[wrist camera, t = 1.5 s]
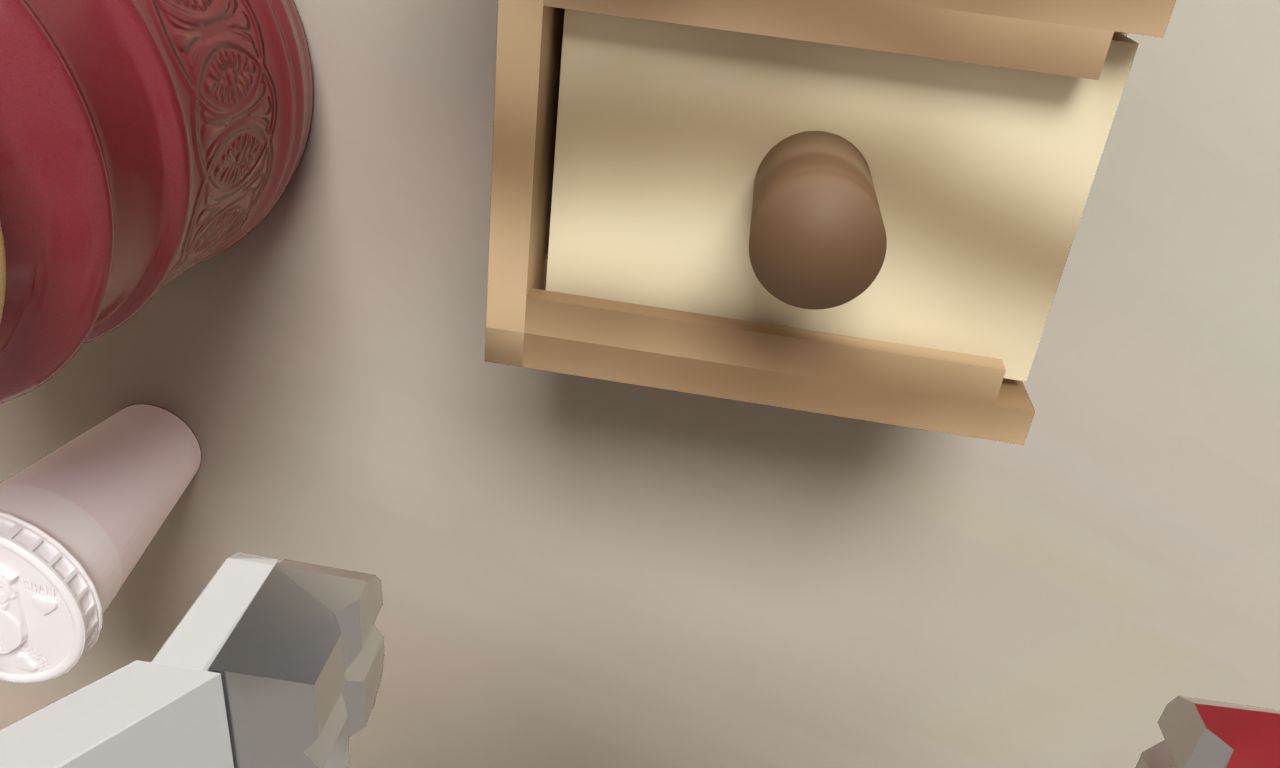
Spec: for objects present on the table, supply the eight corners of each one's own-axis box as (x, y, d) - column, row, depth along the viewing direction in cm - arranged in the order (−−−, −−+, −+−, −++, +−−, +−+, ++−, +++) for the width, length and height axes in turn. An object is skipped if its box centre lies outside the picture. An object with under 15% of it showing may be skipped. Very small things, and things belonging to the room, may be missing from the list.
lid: (1016, 360, 27) (1064, 465, 23) (553, 290, 28) (507, 378, 23) (1122, 34, 23) (1205, 82, 18) (576, -38, 24) (527, -9, 19)
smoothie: (54, 454, 41) (-262, 719, 28) (109, 341, 38) (-217, 581, 25) (197, 539, 42) (-47, 829, 29) (260, 436, 39) (19, 709, 27)
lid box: (971, 313, 33) (1023, 445, 26) (548, 250, 34) (484, 361, 27) (1078, -52, 28) (1181, -14, 20) (573, -116, 28) (501, -101, 21)
